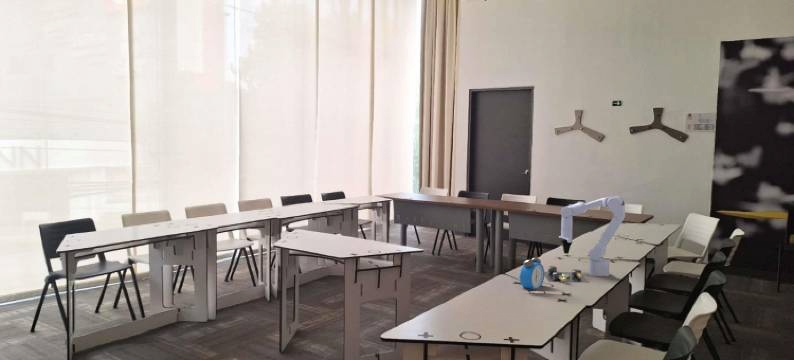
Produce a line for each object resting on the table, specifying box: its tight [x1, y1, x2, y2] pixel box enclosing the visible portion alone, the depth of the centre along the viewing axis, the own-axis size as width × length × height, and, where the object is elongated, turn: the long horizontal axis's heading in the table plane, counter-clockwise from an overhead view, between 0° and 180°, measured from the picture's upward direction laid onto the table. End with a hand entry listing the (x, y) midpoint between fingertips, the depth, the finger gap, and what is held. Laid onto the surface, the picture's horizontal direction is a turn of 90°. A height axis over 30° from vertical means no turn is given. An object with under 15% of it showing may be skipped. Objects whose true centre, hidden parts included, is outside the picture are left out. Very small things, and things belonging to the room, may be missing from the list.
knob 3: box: [571, 269, 583, 278], centre depth 268 cm, size 10×4×3 cm, turn 175°
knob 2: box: [553, 271, 567, 281], centre depth 263 cm, size 10×4×3 cm, turn 13°
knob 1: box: [547, 264, 558, 274], centre depth 281 cm, size 10×4×3 cm, turn 162°
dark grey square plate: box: [544, 271, 590, 284], centre depth 272 cm, size 20×20×2 cm
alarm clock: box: [519, 256, 545, 292], centre depth 253 cm, size 13×6×15 cm, turn 136°
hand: (566, 253), depth 286 cm, fingers closed
